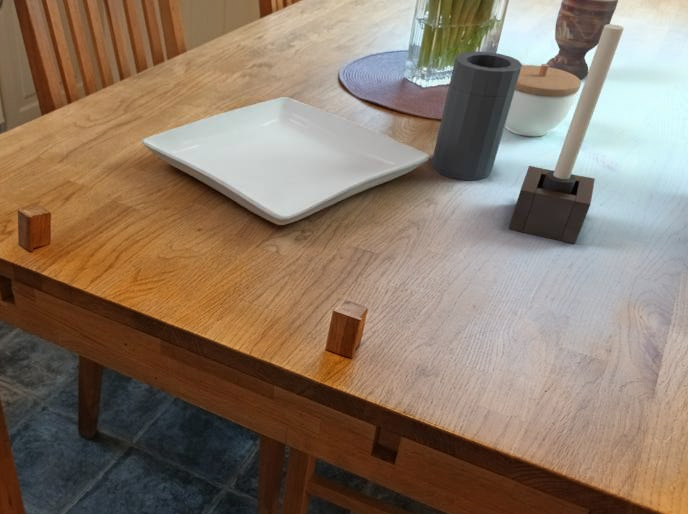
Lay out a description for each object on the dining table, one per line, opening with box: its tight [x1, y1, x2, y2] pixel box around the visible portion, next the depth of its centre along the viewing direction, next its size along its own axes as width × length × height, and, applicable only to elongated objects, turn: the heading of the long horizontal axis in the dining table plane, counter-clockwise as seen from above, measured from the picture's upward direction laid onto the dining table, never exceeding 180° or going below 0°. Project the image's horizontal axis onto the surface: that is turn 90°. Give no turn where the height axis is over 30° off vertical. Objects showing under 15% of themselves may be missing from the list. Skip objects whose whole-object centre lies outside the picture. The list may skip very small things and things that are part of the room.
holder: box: [507, 165, 596, 245], centre depth 84 cm, size 7×7×5 cm
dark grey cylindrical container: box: [431, 51, 523, 181], centre depth 93 cm, size 8×8×14 cm
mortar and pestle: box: [545, 0, 619, 80], centre depth 124 cm, size 12×9×20 cm
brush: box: [541, 23, 625, 195], centre depth 79 cm, size 3×3×22 cm
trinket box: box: [504, 63, 582, 138], centre depth 106 cm, size 11×11×9 cm
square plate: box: [141, 96, 430, 226], centre depth 94 cm, size 27×27×4 cm
